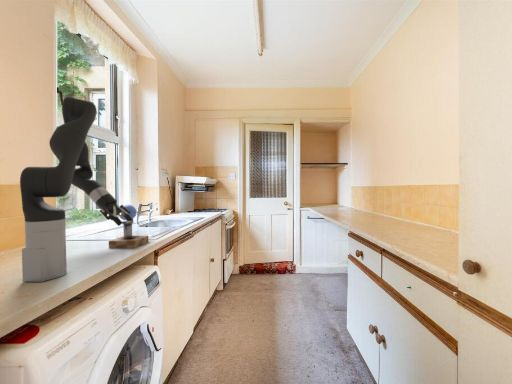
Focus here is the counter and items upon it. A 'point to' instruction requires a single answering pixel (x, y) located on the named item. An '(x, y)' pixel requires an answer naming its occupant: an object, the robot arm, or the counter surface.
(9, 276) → the counter surface
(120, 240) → the hole block
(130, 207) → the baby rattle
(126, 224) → the pin
